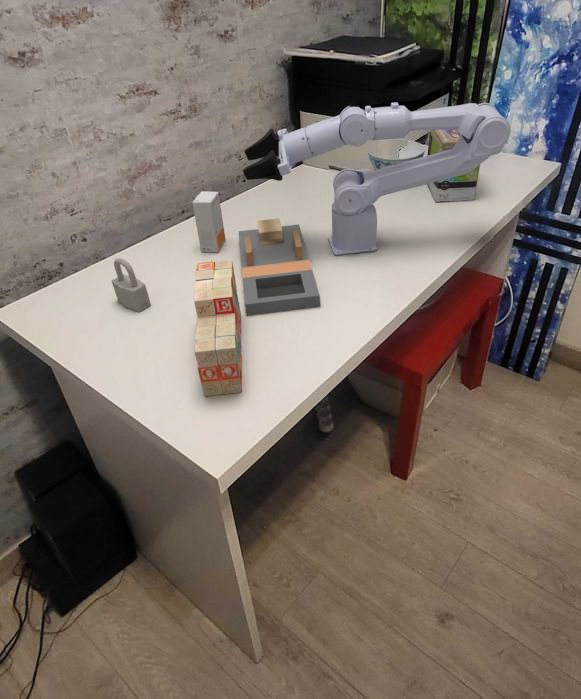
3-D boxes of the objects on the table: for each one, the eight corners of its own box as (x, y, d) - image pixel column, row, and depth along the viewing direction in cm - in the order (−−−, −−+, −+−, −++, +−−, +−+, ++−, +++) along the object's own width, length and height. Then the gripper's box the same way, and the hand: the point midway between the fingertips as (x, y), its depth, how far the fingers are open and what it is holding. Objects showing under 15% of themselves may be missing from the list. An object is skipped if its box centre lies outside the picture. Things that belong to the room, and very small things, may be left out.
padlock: (115, 302, 106) (100, 258, 99) (131, 293, 108) (118, 249, 102) (137, 314, 102) (123, 269, 96) (153, 304, 104) (141, 259, 98)
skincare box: (218, 253, 118) (210, 202, 111) (201, 252, 119) (191, 202, 112) (226, 240, 123) (218, 191, 115) (209, 239, 124) (200, 190, 116)
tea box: (475, 201, 130) (485, 139, 121) (434, 203, 131) (441, 142, 122) (461, 177, 142) (469, 120, 133) (423, 179, 143) (429, 122, 133)
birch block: (280, 230, 120) (279, 218, 118) (283, 242, 115) (282, 230, 113) (258, 233, 119) (257, 220, 117) (260, 245, 115) (259, 233, 113)
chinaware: (410, 191, 137) (412, 162, 132) (357, 183, 144) (358, 154, 139) (430, 171, 147) (433, 143, 142) (380, 164, 153) (381, 136, 148)
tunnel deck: (299, 234, 123) (298, 212, 119) (320, 306, 100) (319, 281, 96) (239, 241, 122) (236, 219, 119) (246, 315, 99) (243, 290, 96)
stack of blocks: (243, 393, 83) (232, 331, 75) (203, 397, 83) (189, 336, 75) (241, 315, 100) (232, 257, 92) (208, 318, 99) (196, 261, 92)
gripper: (301, 106, 105) (239, 130, 108) (304, 141, 95) (235, 166, 99) (312, 138, 110) (252, 160, 113) (316, 174, 100) (250, 197, 104)
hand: (245, 164), depth 106 cm, fingers open, 7 cm apart
